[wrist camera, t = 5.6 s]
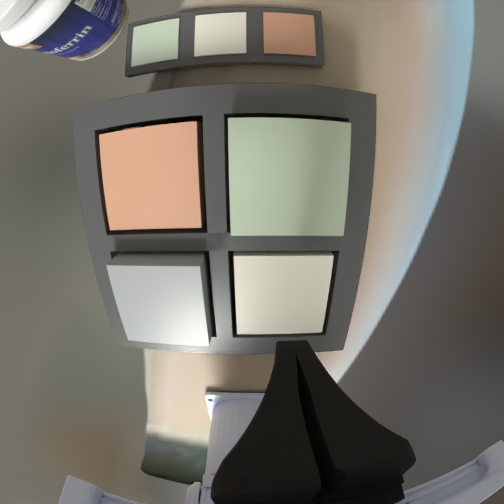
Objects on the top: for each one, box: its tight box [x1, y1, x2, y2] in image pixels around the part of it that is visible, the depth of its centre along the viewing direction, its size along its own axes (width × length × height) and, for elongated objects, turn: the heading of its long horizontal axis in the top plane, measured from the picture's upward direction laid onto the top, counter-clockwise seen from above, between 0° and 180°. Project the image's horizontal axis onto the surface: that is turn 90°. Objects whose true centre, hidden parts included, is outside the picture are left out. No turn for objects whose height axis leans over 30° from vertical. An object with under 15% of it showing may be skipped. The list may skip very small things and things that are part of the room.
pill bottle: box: [0, 0, 129, 60], centre depth 7 cm, size 6×6×10 cm
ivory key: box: [234, 251, 334, 334], centre depth 17 cm, size 5×5×3 cm
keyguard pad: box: [73, 83, 376, 354], centre depth 16 cm, size 16×16×4 cm
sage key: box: [228, 117, 351, 236], centre depth 13 cm, size 5×5×3 cm
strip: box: [125, 7, 324, 77], centre depth 12 cm, size 12×4×1 cm, turn 90°
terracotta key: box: [99, 121, 207, 230], centre depth 14 cm, size 5×5×3 cm
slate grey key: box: [106, 251, 215, 346], centre depth 16 cm, size 5×5×3 cm
